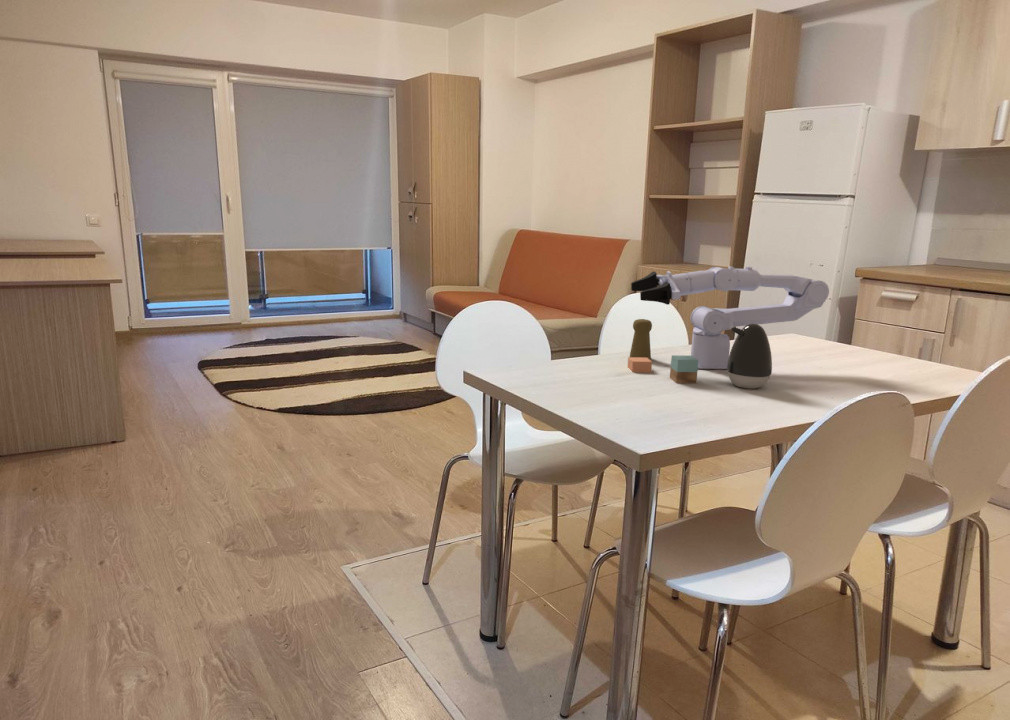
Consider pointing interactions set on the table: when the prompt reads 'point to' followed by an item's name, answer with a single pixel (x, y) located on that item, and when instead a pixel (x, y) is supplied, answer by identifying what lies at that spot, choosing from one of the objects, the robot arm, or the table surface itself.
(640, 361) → the orange block
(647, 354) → the olive upright rounded piece
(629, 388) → the table surface
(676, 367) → the teal slab
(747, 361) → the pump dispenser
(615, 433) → the table surface
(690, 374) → the walnut slab
